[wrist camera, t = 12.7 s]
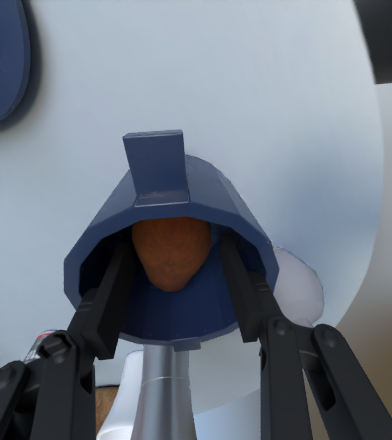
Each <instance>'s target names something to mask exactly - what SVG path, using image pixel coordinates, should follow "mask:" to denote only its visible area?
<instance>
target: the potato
mask: <svg viewBox="0 0 392 440" xmlns="http://www.w3.org/2000/svg"><path fill="white" fill-rule="evenodd" d="M132 241H133V244H134V246H135V249H136V251H137V254H138V256H139V259H140V261H141V263H142V265H143V267H144V269H145V272H146V274H147V277H148V279H149V281H150V282H151V283H152V284H153V285H154V286H155V287H156V288H158V289H160V290H163V291H165V292H176V291H178V290H181V289H183V288H184V287H185V286H186V284H187V283H188V282H189V280H190V279H191V278H192V276H193V275H194V274H195V273H196V272H197V271H198V270H199V269H200V267H201V266H202V265H203V264H204V262H205V260H206V258H207V256H208V254H209V251H210V247H211V230H210V224H209V222H208V221H204V220H200V219H196V218H192V217H188V216H184V217H173V218H162V219H150V220H141V221H138V222H136V223H134V224H132Z"/></svg>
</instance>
